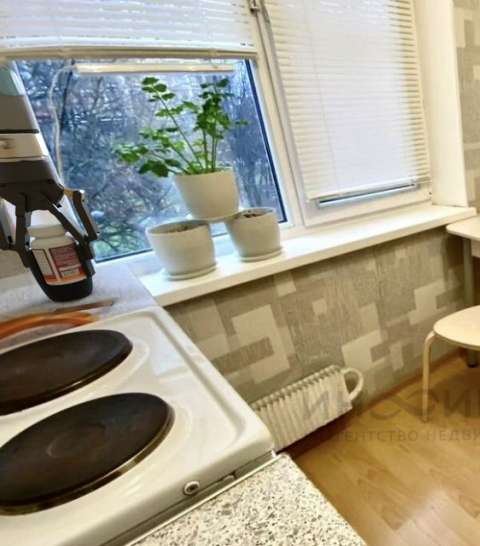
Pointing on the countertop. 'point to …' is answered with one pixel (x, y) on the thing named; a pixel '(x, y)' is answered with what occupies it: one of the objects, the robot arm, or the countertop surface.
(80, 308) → the cork mat
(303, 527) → the countertop surface
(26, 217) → the robot arm
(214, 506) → the countertop surface
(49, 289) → the mug
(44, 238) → the pill bottle
